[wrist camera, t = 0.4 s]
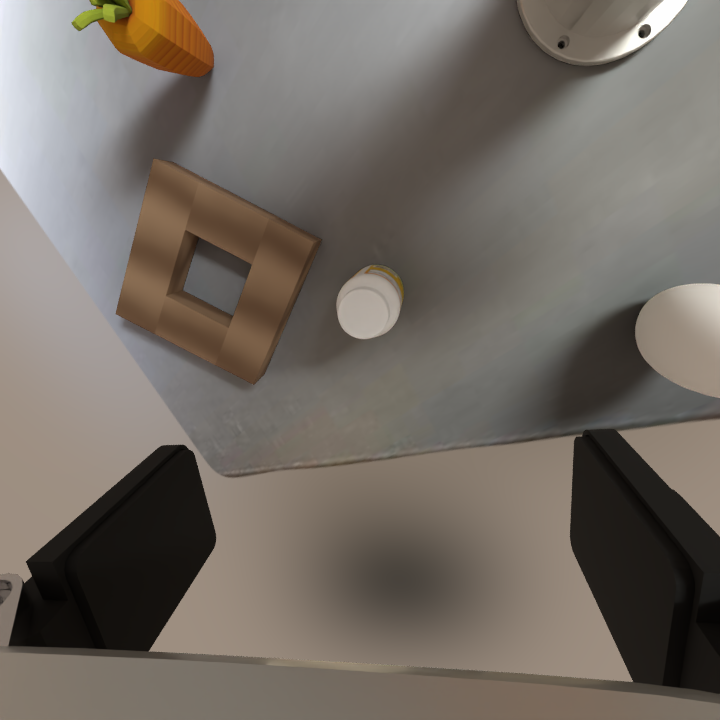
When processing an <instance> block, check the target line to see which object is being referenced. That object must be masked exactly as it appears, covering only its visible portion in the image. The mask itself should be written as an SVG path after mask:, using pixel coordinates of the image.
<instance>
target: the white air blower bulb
mask: <svg viewBox="0 0 720 720" xmlns="http://www.w3.org/2000/svg"><path fill="white" fill-rule="evenodd" d="M635 338H636V343H637V346H638V349H639V351H640V353H641V354H642V356H643V358H644V359H645V361H646V362H647V363H648V364H649V365H650V366H651V367H652V368H653V369H654V370H655V371H657V372H658V373H659V374H661V375H662V376H664V377H665V378H667V379H669V380H671V381H672V382H674V383H676V384H678V385H680V386H682V387H684V388H687V389H690V390H693V391H696V392H698V393H702V394H705V395H709V396H713V397H718V398H720V285H717V284H688V285H682V286H676V287H673V288H670V289H667V290H664V291H662V292H660V293H658V294H657V295H655V296H654V297H652V298H651V299H650V300H649V301H648V302H647V303H646V304H645V305H644V306H643V308H642V310H641V311H640V313H639V316H638V318H637V321H636V326H635Z"/></svg>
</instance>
